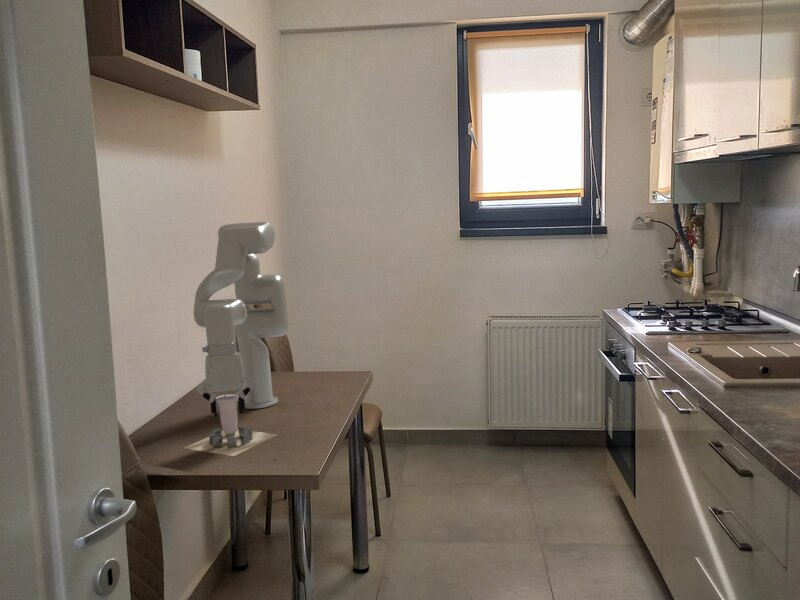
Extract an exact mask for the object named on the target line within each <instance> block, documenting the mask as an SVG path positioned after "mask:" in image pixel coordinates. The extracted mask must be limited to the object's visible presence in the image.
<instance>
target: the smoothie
mask: <svg viewBox="0 0 800 600" xmlns="http://www.w3.org/2000/svg"><path fill="white" fill-rule="evenodd" d="M222 393H223V394H222V395H219V396H217V397H216V396H215V401H216V407H217V412H218V414H219V418H220V424H221V427H222V431H223V433H226V434H229V433H234V432H236V431H237V429H238V421H239V420H238V419H239V418H238V415H239V414H238V413H239V396H238V395H236V393H234V394H232V393H228V394H226V393H227V392H222Z"/></svg>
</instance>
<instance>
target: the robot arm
mask: <svg viewBox="0 0 800 600" xmlns="http://www.w3.org/2000/svg"><path fill="white" fill-rule="evenodd" d="M217 235H218V236H217V237H218V240H217V248H216V256H215V265H214V269H213V270H212V271H211V272H209V273H208V274H207V275H206V276H205V277H204V279H202V281H201V282H200V284H199V285H198V287H197V289H196V291H195V296H194V304H193V320H194V322H195V324H196V325H197V326H199V327H200V328H205V334H206V346H203V347H201V349H202V353H207V355H206V356H205V360H204V361H205V362H204V363H205V367H204V370H205V371H204V372H205V373H204V374H205V378H204V380H203V381H202V382H201V383H200V384H199V385H198V386H197V387H196V390H195V391H196V393H198V394H199V395H200V396H202V397H203V398H204V399H205V400H207V401H208V402H209V404H210V410H211V411H210V413H211V414H213V415H214V416H213V417H215V418H217V417H218V413H217V412H218V408H217V403H216V401H215V398H216V395H217V394H220V393H223V392H226V393H229V392H235V391H236V392H235V394H236V395H238V396H239V400H238V409H239V412H240V414H244V410H245V409H249V410H255V409H256V410H257V409H264V408H268V407H272V406H274V405H276V404H277V403H278V402H279V398H278V397H277V396H276V395H273V393H274V392H273V385H272V384H273V383H272V374H271V372H272V371H271V361H270V360H271V359H270V352H269V347H268V346H267V345H266V344H265V342H264V341H263V340H262V339H264V338H277V337H283V336H285V335H286V334H287V333H288V331H289V315H288V303H287V293H286V292H287V290H286V286H285V281H284V280H283V277H281V276H280V275H278V274H273V273H272V274H271V273H270V274H262V272H261V267H260V265H261V264H260V260H259V258H258V254H259V255H260V254H265V253H267V252H268V251H269V250H271V249H272V248H273V246H274V244H275V239H276V237H275V236H276V234H275V229H274V227H273V225H272V224H271V223H270V222H268V221H257V222H256V221H254V222H235V223H228V224H224V225H222V226H219V228H218V230H217ZM256 254H257V255H256ZM233 284H234V292H235V294H234V295H235V298H229V299H228V298H226V299H210V298H211V297H212V296H213V295H214V294H215V293H217V292H218V291H221V290H223V289H225V288H227V287H229V286H231V285H233ZM257 305H271V306H272V307H267V308H266V307H265V308H249V309H248V307H247V306H257ZM237 349H238V350H237ZM205 388H206V390H207V391H205V390H204V389H205Z"/></svg>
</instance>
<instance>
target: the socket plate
mask: <svg viewBox="0 0 800 600" xmlns="http://www.w3.org/2000/svg"><path fill="white" fill-rule="evenodd" d="M221 431H222V440H223V447H222V448H214V447H213V445H211V446H210V439H209V436H208V437H205V438H203V439H201V440H199V441H196V442H194V443H191V444H189V445H188V446H185V447H184V449H186V450H190V451H191V450H192V451H198V452H206V453H210V454H212V453H213V454H216V455H217V454H218V455H223V456H229V457H236V456H237V455H239V454H241V453H243V452H246V451H247V450H249V449H252V448H254V447H256V446H258V445H259V444H262V443H265V442H266V441H268V440H270V439H272V438H274V437H277V436H278V434H277V433H276V434H275V433H270V432H263V431H261V432H260V431H256V430H255V431H254V430H252V437H253V440H250V442H249V443H247V444H245V445H241V441H240V436H239V429H238V428H237V431H236V432H235V436H229V437H226V433H223V430H221ZM230 437H236V443H237V447H233V448H228V446H227V438H230Z"/></svg>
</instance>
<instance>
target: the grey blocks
mask: <svg viewBox="0 0 800 600" xmlns="http://www.w3.org/2000/svg"><path fill="white" fill-rule="evenodd" d="M237 429H239V436H240V441H241V445H245V444H247V443H249V442H250V440H253V437H252V431H253V430H252V428H249V426H245V425H239V426H237ZM222 431H223V430H222V429H220V428H218V429H214V430H213V431H211V433H209V434H208V437H209V439H210V446H211V445H213V447H214V448H222V447H223V440H222ZM229 436H235V432H234V433H229V434H226V437H229ZM227 446H228V448H233V447H237V443H236V437H230V438H227Z"/></svg>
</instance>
